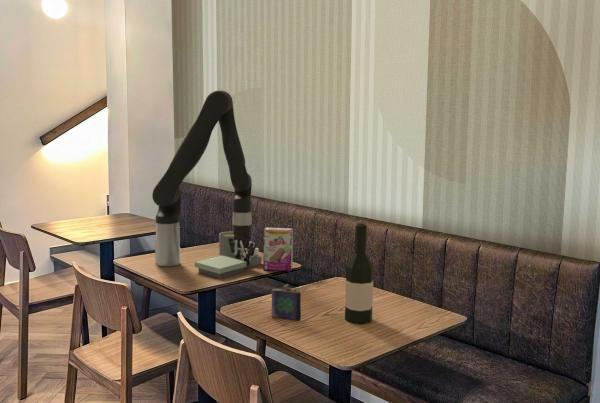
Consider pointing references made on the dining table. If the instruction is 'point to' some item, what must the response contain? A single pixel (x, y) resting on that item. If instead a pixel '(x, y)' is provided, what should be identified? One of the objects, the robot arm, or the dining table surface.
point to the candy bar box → (278, 249)
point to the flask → (286, 304)
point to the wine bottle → (359, 281)
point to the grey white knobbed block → (254, 259)
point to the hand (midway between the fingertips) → (242, 264)
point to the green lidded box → (220, 266)
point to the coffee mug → (226, 245)
